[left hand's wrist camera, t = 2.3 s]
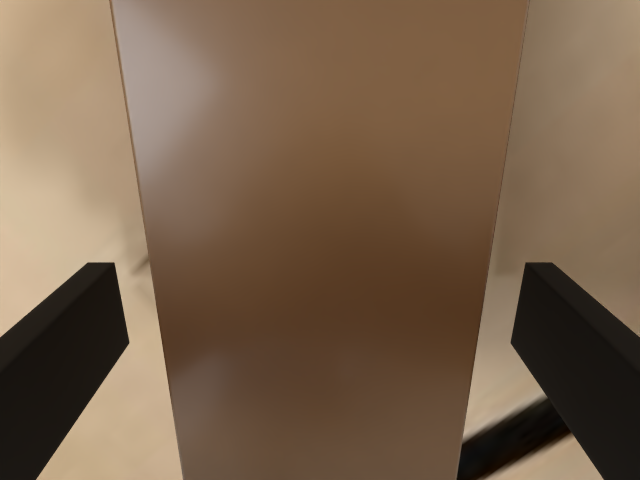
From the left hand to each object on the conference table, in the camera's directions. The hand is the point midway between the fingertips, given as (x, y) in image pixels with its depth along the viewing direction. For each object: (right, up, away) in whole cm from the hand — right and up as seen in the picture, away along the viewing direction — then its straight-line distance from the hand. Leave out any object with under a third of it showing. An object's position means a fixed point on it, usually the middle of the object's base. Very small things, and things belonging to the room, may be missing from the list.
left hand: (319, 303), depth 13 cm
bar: (0, +9, -1) cm, 9 cm away
